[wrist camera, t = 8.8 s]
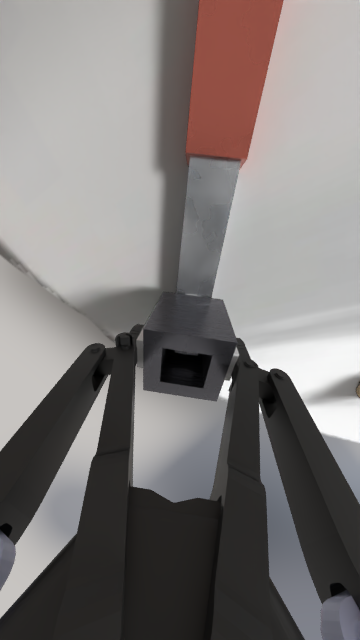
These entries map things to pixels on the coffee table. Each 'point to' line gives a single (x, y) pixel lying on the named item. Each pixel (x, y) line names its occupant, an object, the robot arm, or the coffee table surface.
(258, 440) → the robot arm
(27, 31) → the coffee table surface
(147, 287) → the coffee table surface
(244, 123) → the ratchet
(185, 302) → the socket
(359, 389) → the figurine
